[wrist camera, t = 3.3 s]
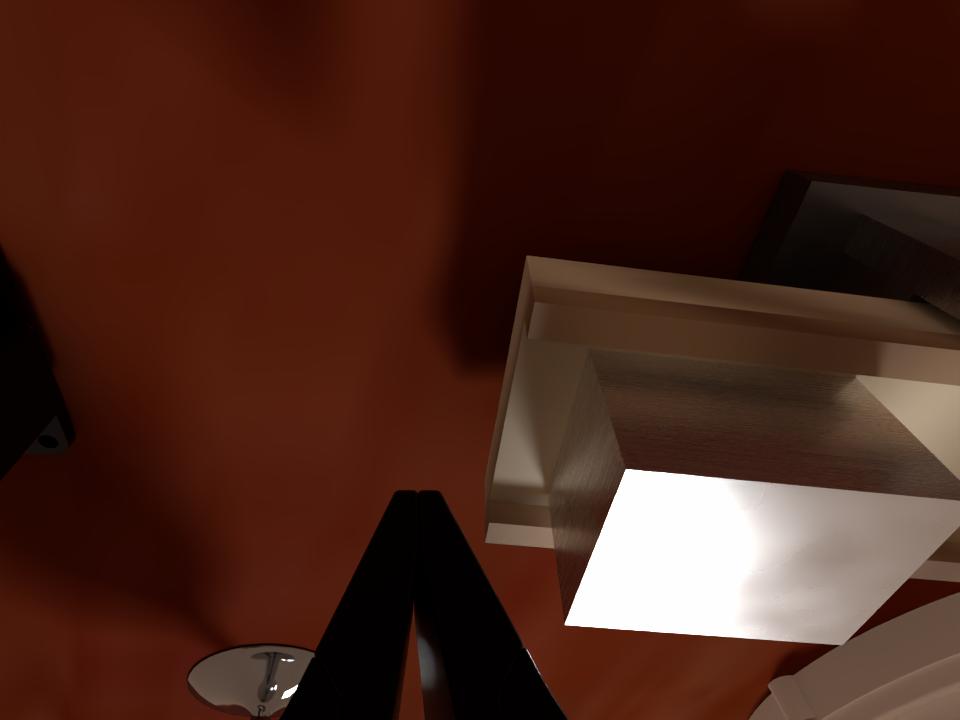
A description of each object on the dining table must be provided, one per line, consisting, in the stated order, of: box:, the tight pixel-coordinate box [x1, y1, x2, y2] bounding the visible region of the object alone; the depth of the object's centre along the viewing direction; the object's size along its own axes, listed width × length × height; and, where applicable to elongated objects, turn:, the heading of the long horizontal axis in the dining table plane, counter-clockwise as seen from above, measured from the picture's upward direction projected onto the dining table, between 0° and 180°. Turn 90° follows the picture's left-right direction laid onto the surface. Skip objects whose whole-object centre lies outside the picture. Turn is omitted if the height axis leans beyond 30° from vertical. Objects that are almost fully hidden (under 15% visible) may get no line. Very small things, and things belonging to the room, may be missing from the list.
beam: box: [485, 256, 960, 582], centre depth 14 cm, size 24×7×3 cm, turn 83°
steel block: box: [547, 349, 960, 645], centre depth 11 cm, size 6×4×4 cm
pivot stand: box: [739, 170, 960, 320], centre depth 14 cm, size 6×11×6 cm, turn 173°
